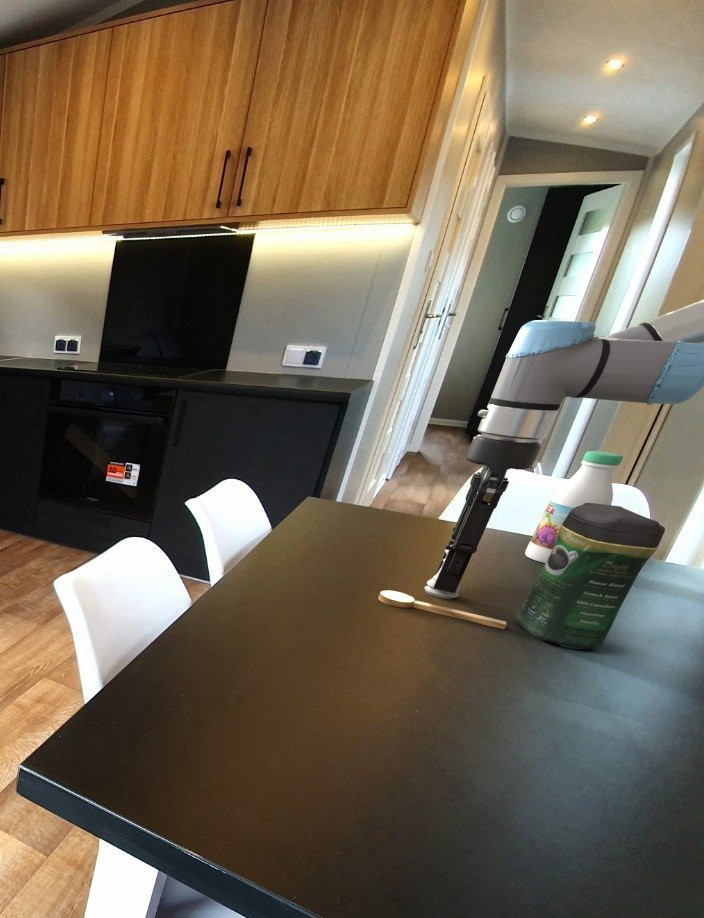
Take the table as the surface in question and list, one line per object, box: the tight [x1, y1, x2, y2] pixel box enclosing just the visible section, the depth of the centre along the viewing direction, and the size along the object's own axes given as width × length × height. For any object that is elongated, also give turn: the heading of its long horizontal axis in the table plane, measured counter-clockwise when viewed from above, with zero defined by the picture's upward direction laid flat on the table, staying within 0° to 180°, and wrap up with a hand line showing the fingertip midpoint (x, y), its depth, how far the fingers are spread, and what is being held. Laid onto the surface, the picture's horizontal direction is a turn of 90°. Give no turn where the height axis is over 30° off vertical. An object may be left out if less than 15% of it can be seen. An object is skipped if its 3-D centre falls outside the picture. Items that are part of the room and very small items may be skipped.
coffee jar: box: [515, 503, 666, 650], centre depth 85 cm, size 10×8×19 cm
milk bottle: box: [525, 450, 624, 564], centre depth 113 cm, size 8×8×20 cm
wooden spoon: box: [378, 590, 508, 630], centre depth 95 cm, size 15×4×1 cm, turn 51°
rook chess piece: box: [424, 545, 462, 600], centre depth 100 cm, size 4×4×8 cm
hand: (444, 584), depth 101 cm, fingers open, 5 cm apart
